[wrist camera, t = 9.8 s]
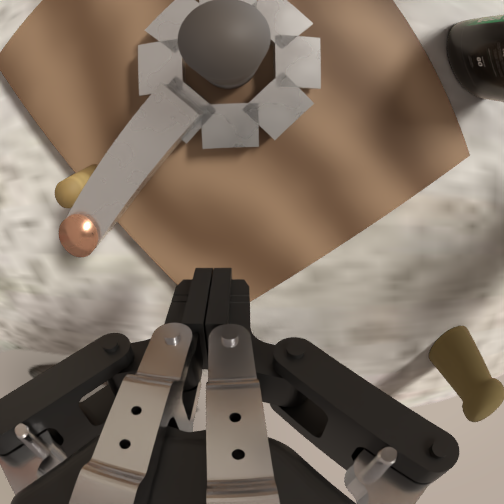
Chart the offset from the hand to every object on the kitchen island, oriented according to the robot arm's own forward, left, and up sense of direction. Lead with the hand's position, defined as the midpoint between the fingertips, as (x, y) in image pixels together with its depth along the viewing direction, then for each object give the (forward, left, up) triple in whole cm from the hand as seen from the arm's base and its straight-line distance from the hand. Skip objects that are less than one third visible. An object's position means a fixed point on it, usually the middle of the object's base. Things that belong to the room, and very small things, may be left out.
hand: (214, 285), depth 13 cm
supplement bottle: (-24, 0, -9) cm, 26 cm away
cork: (-11, +28, -9) cm, 32 cm away
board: (-6, -8, -9) cm, 13 cm away
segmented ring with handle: (-2, -7, -7) cm, 10 cm away
